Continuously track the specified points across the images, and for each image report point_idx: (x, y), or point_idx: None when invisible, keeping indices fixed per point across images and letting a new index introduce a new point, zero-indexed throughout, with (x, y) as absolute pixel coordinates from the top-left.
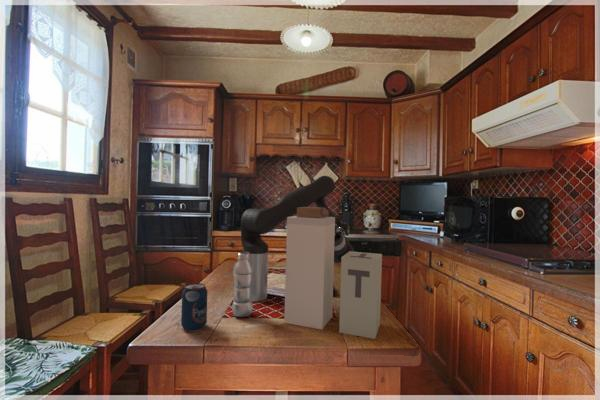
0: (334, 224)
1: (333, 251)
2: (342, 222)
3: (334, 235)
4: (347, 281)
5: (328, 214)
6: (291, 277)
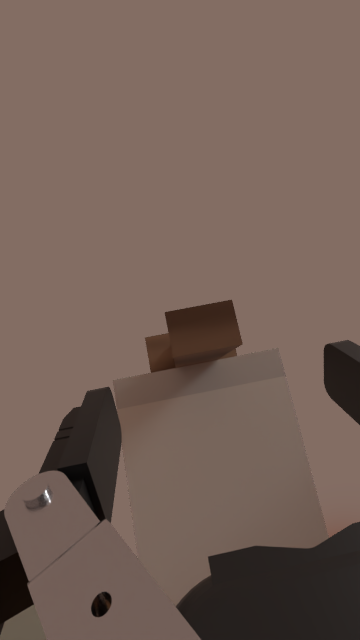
0: (118, 413)
1: (139, 548)
2: (17, 491)
3: (125, 469)
4: None
5: (172, 350)
6: None
